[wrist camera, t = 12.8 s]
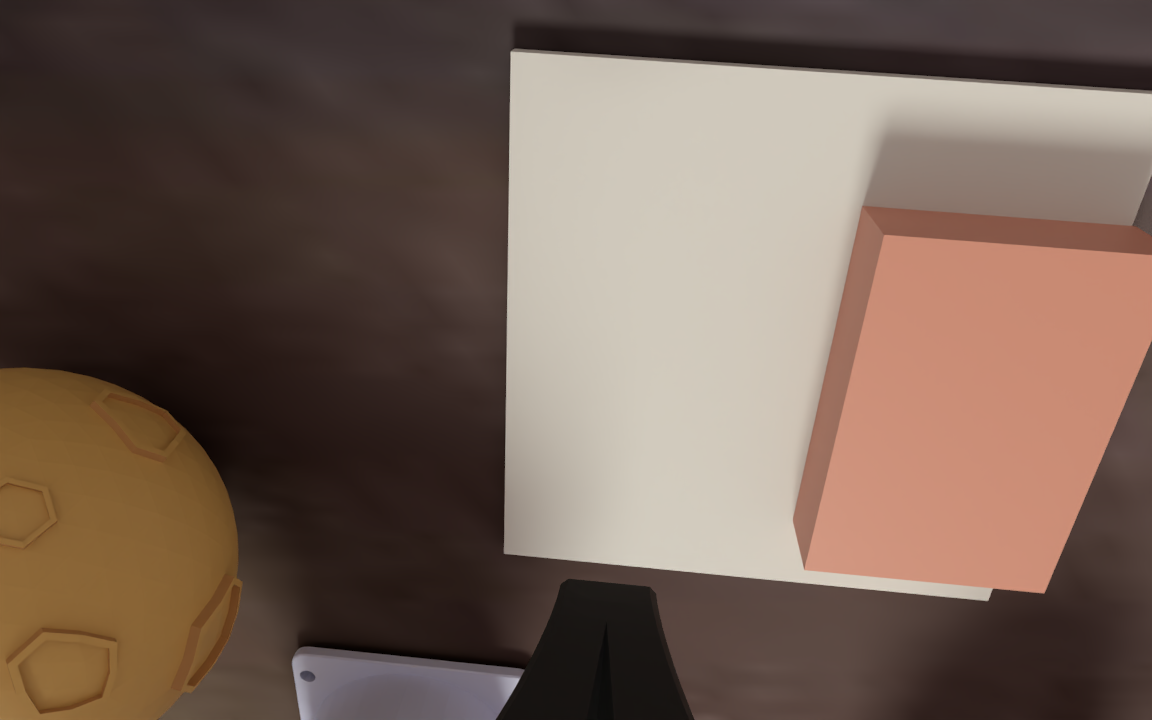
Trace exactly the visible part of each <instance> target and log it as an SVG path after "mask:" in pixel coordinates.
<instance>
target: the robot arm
mask: <svg viewBox="0 0 1152 720" xmlns="http://www.w3.org/2000/svg"><path fill="white" fill-rule="evenodd" d="M292 667H293V673H294V679H295V686H296V692H297V699H298V705H299V712H300V718H301V720H694V718H693V715H692V713H691V710H690V708H689V705H688V702H687V700H686V697H685V695H684V692H683V689H682V687H681V684H680V682H679V679H678V676H677V673H676V670H675V667H674V664H673V661H672V658H671V655H670V652H669V649H668V645H667V642H666V639H665V635H664V631H663V628H662V624H661V620H660V615H659V610H658V605H657V599H656V593H655V592H654V591H653V590H652V589H651V588H650V587H646V586H636V585H626V584H616V583H606V582H596V581H585V580H575V579H568V580H566V581H565V582H563V583H562V584H561V586H560V589H559V593H558V597H557V600H556V603H555V606H554V608H553V611H552V614H551V616H550V619H549V621H548V623H547V626H546V628H545V630H544V632H543V634H542V637H541V639H540V641H539V643H538V645H537V647H536V649H535V651H534V653H533V655H532V657H531V659H530V661H529V663H528V664H527V666H526V668H525V670H523V669H519V668H510V667H501V666H491V665H481V664H472V663H462V662H453V661H443V660H434V659H424V658H415V657H405V656H395V655H386V654H376V653H367V652H357V651H348V650H338V649H328V648H319V647H301V648H299V649H298V650H297V651H296V653H295V655H294V657H293V659H292Z"/></svg>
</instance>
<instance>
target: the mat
mask: <svg viewBox="0 0 1152 720" xmlns="http://www.w3.org/2000/svg"><path fill="white" fill-rule="evenodd" d="M1151 175H1152V91H1147V90H1132V89H1117V88H1102V87H1087V86H1072V85H1057V84H1042V83H1027V82H1011V81H996V80H981V79H966V78H951V77H936V76H921V75H906V74H890V73H875V72H860V71H845V70H830V69H815V68H800V67H785V66H770V65H754V64H739V63H724V62H709V61H694V60H679V59H664V58H649V57H634V56H618V55H603V54H588V53H573V52H558V51H543V50H528V49H513V50H512V51H511V72H510V146H509V220H508V293H507V367H506V441H505V514H504V554H512V555H522V556H532V557H543V558H553V559H563V560H573V561H584V562H594V563H604V564H614V565H625V566H635V567H645V568H655V569H666V570H676V571H686V572H696V573H707V574H717V575H727V576H737V577H748V578H758V579H768V580H778V581H789V582H799V583H809V584H819V585H830V586H840V587H850V588H860V589H871V590H881V591H891V592H901V593H912V594H922V595H932V596H943V597H953V598H963V599H973V600H984V601H988V600H989V597H990V595H991V592H992V589H993V588H984V587H973V586H963V585H953V584H942V583H932V582H922V581H911V580H901V579H891V578H880V577H870V576H860V575H849V574H839V573H829V572H818V571H808V570H804V567H803V562H802V558H801V554H800V550H799V545H798V541H797V537H796V533H795V528H794V524H793V517H794V512H795V508H796V503H797V499H798V494H799V490H800V485H801V480H802V476H803V471H804V467H805V462H806V458H807V453H808V449H809V444H810V440H811V435H812V431H813V426H814V422H815V417H816V413H817V408H818V404H819V399H820V395H821V390H822V386H823V381H824V376H825V372H826V367H827V363H828V358H829V354H830V349H831V345H832V340H833V336H834V331H835V327H836V322H837V318H838V313H839V309H840V304H841V300H842V295H843V291H844V286H845V281H846V277H847V272H848V268H849V263H850V259H851V254H852V250H853V245H854V241H855V236H856V232H857V227H858V223H859V218H860V214H861V209H862V206H871V207H884V208H897V209H911V210H924V211H938V212H951V213H965V214H978V215H992V216H1005V217H1018V218H1032V219H1045V220H1059V221H1072V222H1086V223H1099V224H1113V225H1126V226H1132V225H1133V222H1134V220H1135V217H1136V214H1137V212H1138V209H1139V207H1140V204H1141V201H1142V199H1143V196H1144V194H1145V191H1146V188H1147V186H1148V183H1149V181H1150V178H1151Z"/></svg>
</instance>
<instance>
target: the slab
mask: <svg viewBox="0 0 1152 720" xmlns="http://www.w3.org/2000/svg"><path fill="white" fill-rule="evenodd" d="M1151 341H1152V236H1150V235H1149V234H1147V233H1145V232H1144V231H1142V230H1141V229H1139V228H1137V227H1136V226H1126V225H1113V224H1099V223H1086V222H1072V221H1059V220H1045V219H1032V218H1018V217H1005V216H992V215H978V214H965V213H951V212H938V211H924V210H911V209H897V208H884V207H871V206H862V209H861V214H860V218H859V223H858V227H857V232H856V236H855V241H854V245H853V250H852V254H851V259H850V263H849V268H848V272H847V277H846V281H845V286H844V291H843V295H842V300H841V304H840V309H839V313H838V318H837V322H836V327H835V331H834V336H833V340H832V345H831V349H830V354H829V358H828V363H827V367H826V372H825V376H824V381H823V386H822V390H821V395H820V399H819V404H818V408H817V413H816V417H815V422H814V426H813V431H812V435H811V440H810V444H809V449H808V453H807V458H806V462H805V467H804V471H803V476H802V480H801V485H800V490H799V494H798V499H797V503H796V508H795V512H794V517H793V524H794V528H795V533H796V537H797V541H798V545H799V550H800V554H801V558H802V562H803V567H804V570H808V571H818V572H829V573H839V574H849V575H860V576H870V577H880V578H891V579H901V580H911V581H922V582H932V583H942V584H953V585H963V586H973V587H984V588H994V589H1004V590H1015V591H1025V592H1035V593H1045V590H1046V588H1047V586H1048V583H1049V581H1050V579H1051V576H1052V574H1053V571H1054V569H1055V567H1056V564H1057V562H1058V560H1059V557H1060V555H1061V553H1062V550H1063V548H1064V546H1065V543H1066V541H1067V538H1068V536H1069V534H1070V531H1071V529H1072V527H1073V524H1074V522H1075V520H1076V517H1077V515H1078V513H1079V510H1080V508H1081V506H1082V503H1083V501H1084V498H1085V496H1086V494H1087V491H1088V489H1089V487H1090V484H1091V482H1092V480H1093V477H1094V475H1095V473H1096V470H1097V468H1098V465H1099V463H1100V461H1101V458H1102V456H1103V454H1104V451H1105V449H1106V447H1107V444H1108V442H1109V440H1110V437H1111V435H1112V432H1113V430H1114V428H1115V425H1116V423H1117V421H1118V418H1119V416H1120V414H1121V411H1122V409H1123V407H1124V404H1125V402H1126V399H1127V397H1128V395H1129V392H1130V390H1131V388H1132V385H1133V383H1134V381H1135V378H1136V376H1137V374H1138V371H1139V369H1140V366H1141V364H1142V362H1143V359H1144V357H1145V355H1146V352H1147V350H1148V348H1149V345H1150V343H1151Z"/></svg>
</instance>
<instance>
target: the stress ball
mask: <svg viewBox="0 0 1152 720" xmlns="http://www.w3.org/2000/svg"><path fill="white" fill-rule="evenodd" d="M237 568H238V533H237V528H236V523H235V518H234V512H233V509H232V505H231V502H230V499H229V495H228V492H227V489H226V487H225V485H224V483H223V481H222V479H221V477H220V475H219V473H218V471H217V469H216V467H215V465H214V464H213V462H212V461H211V459H210V458H209V456H208V455H207V453H206V452H205V451H204V449H203V448H202V446H201V445H200V444H199V443H198V442H197V441H196V440H195V439H194V438H193V436H192V435H191V434H190V433H189V432H188V431H187V430H186V429H185V428H184V427H183V426H182V425H181V424H179V423H178V422H177V421H176V420H175V419H174V418H173V417H172V416H171V414H170V413H169V412H168V411H167V410H165V409H163V408H160V407H158V406H156V405H154V404H152V403H151V402H149V401H148V400H146V399H145V398H143V397H141V396H139V395H137V394H135V393H133V392H130V391H128V390H126V389H124V388H122V387H119V386H117V385H115V384H112V383H109V382H106V381H103V380H100V379H97V378H94V377H90V376H86V375H81V374H76V373H71V372H66V371H62V370H51V369H37V368H4V369H0V720H157V719H158V718H160V717H161V716H162V715H163V714H164V713H165V712H166V711H167V710H168V709H169V708H170V707H171V706H172V705H173V704H174V703H175V702H176V700H177V699H178V698H179V697H180V696H181V695H182V694H183V693H184V692H189V693H192V692H193V690H194V689H195V688H196V687H197V685H198V684H199V683H200V682H201V681H202V679H203V678H204V677H205V676H206V674H207V673H208V672H209V671H210V670H211V668H212V667H213V666H214V664H215V662H216V661H217V659H218V657H219V656H220V654H221V652H222V650H223V649H224V647H225V645H226V644H227V642H228V640H229V638H230V635H231V632H232V629H233V626H234V623H235V619H236V616H237V613H238V610H239V603H240V596H241V589H242V581H240V580H238V579H237Z"/></svg>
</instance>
